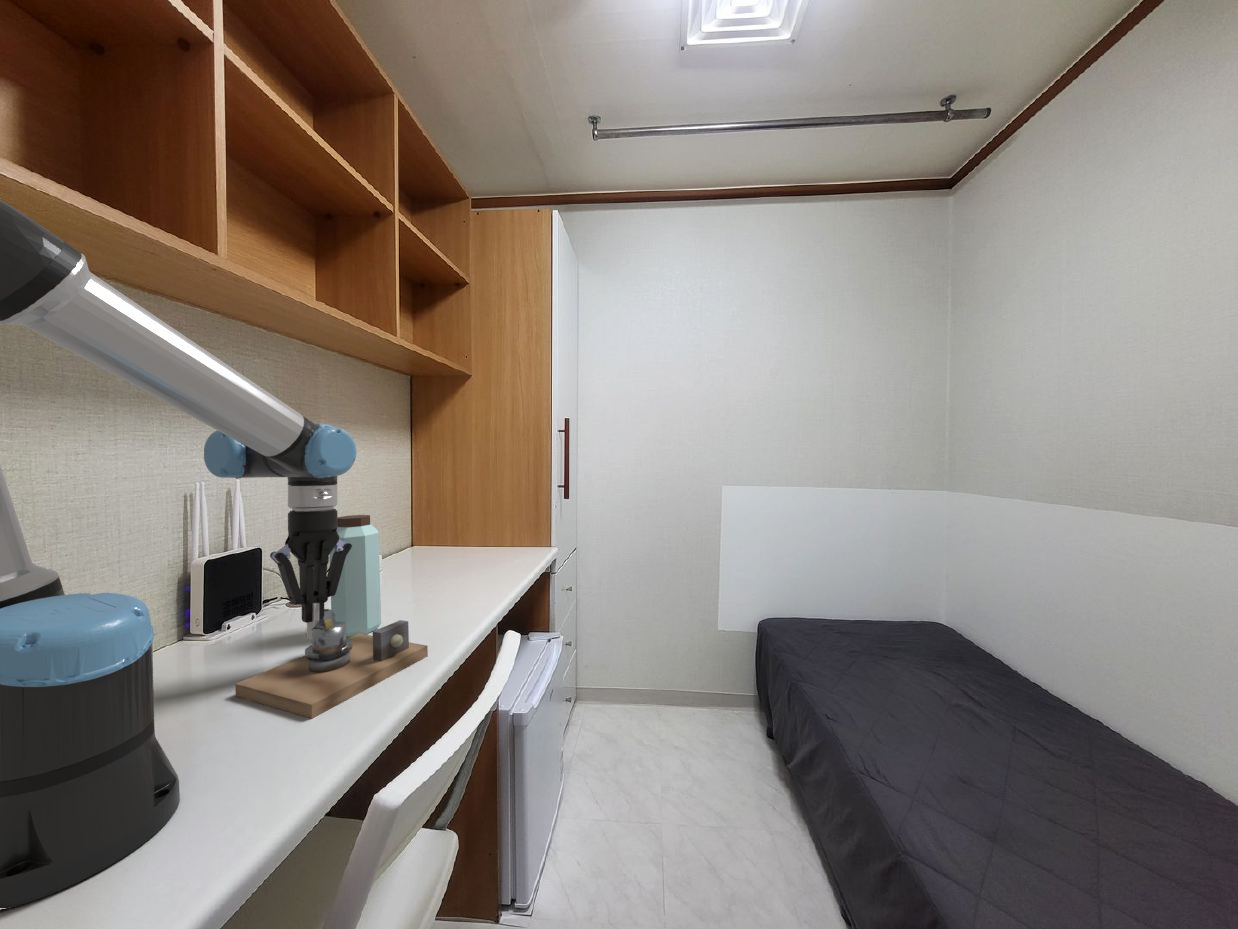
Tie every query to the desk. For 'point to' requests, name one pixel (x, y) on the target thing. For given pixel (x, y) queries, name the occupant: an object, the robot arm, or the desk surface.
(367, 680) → the rotary lever board
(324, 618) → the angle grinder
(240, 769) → the desk surface
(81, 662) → the robot arm
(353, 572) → the water bottle
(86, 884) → the desk surface
